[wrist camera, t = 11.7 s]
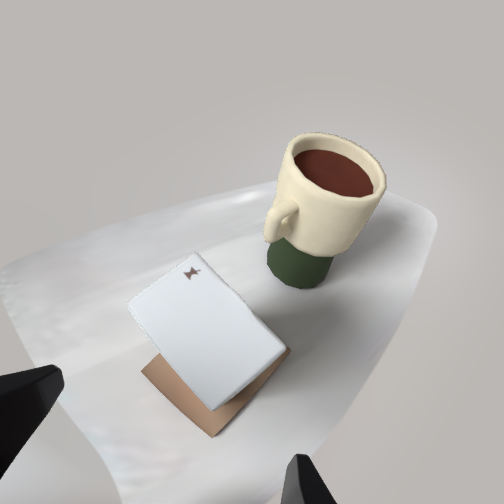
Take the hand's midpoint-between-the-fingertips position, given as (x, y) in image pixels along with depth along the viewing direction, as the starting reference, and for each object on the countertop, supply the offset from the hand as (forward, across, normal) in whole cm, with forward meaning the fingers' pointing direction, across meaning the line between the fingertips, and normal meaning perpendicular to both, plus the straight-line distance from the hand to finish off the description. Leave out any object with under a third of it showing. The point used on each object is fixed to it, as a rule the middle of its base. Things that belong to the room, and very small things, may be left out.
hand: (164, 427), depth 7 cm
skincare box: (+12, 0, +6) cm, 14 cm away
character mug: (+21, -5, -2) cm, 22 cm away
